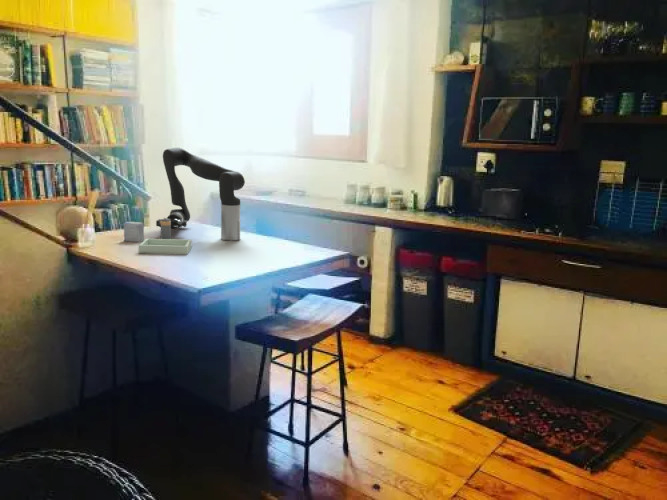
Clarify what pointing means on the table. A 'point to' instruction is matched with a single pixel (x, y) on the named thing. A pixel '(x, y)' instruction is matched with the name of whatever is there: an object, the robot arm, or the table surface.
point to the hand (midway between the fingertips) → (169, 225)
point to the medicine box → (134, 231)
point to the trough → (165, 246)
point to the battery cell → (165, 228)
